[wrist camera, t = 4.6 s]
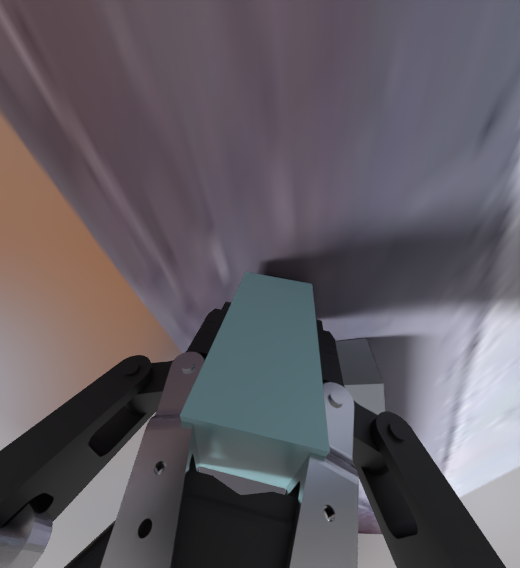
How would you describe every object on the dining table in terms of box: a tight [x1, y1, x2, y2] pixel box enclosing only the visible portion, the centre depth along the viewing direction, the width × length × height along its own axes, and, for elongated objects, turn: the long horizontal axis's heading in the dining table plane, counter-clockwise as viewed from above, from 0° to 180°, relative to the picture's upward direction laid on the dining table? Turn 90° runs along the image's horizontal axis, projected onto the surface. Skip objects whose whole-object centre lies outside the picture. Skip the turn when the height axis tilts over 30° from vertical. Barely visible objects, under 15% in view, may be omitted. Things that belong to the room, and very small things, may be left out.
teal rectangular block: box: [180, 272, 330, 488], centre depth 10 cm, size 4×4×8 cm
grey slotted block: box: [335, 338, 385, 479], centre depth 18 cm, size 16×11×4 cm
